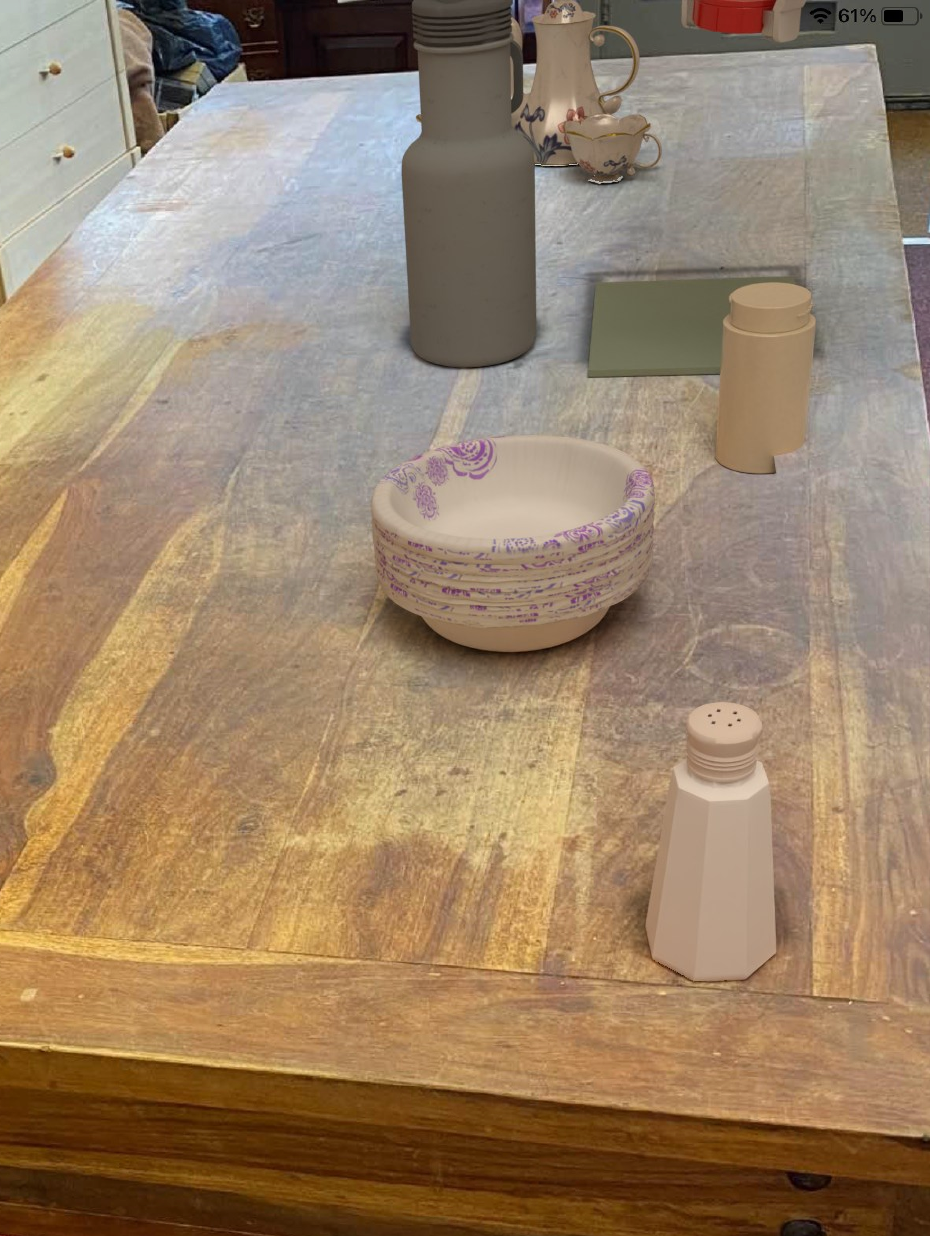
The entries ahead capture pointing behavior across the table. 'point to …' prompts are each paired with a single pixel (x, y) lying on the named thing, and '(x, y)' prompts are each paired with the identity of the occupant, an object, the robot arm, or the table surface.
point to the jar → (764, 375)
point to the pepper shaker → (715, 853)
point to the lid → (730, 15)
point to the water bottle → (469, 190)
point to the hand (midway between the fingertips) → (738, 33)
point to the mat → (662, 325)
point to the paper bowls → (514, 538)
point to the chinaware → (576, 98)
